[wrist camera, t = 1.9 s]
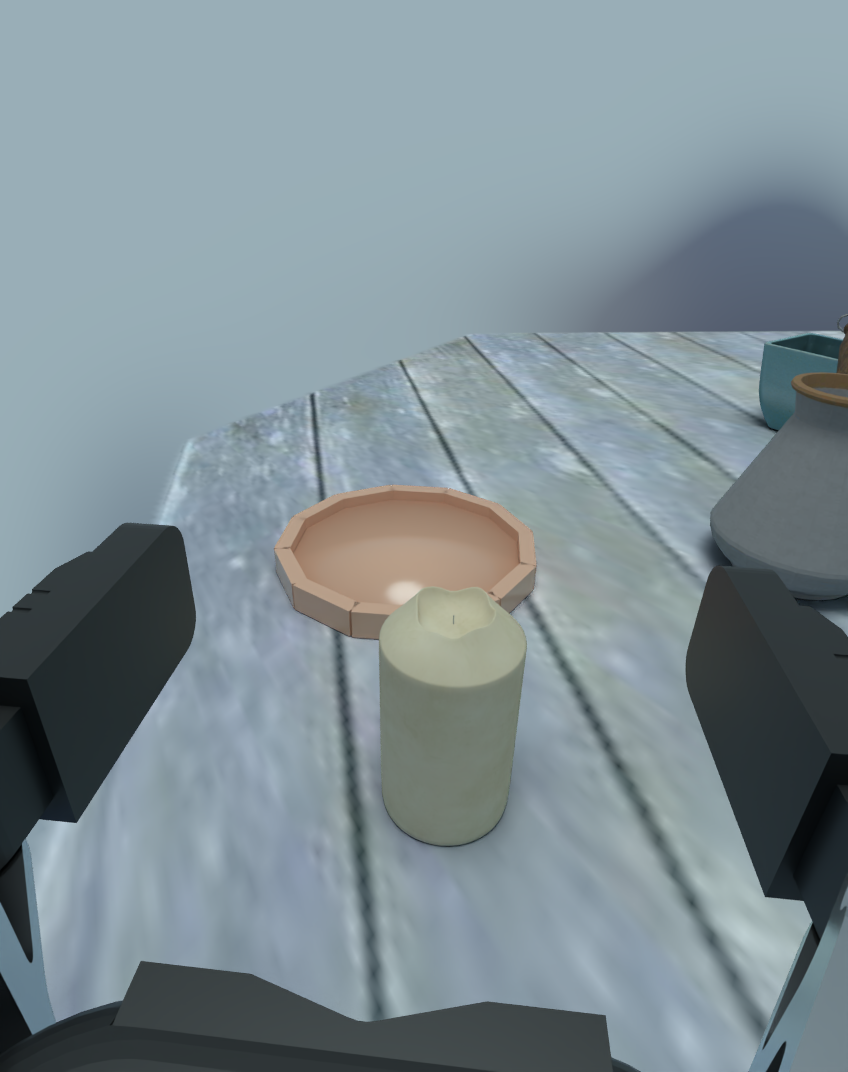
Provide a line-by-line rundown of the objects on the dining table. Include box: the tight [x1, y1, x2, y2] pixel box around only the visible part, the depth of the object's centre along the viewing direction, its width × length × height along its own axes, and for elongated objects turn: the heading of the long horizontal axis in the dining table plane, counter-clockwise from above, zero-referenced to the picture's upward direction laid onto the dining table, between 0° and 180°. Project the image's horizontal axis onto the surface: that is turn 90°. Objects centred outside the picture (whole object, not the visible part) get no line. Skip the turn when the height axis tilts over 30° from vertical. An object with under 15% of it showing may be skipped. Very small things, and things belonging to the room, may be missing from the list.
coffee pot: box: [710, 314, 848, 600], centre depth 46 cm, size 21×12×15 cm, turn 151°
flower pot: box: [759, 333, 843, 430], centre depth 68 cm, size 9×9×9 cm
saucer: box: [274, 485, 536, 639], centre depth 45 cm, size 17×17×2 cm
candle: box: [379, 586, 527, 846], centre depth 26 cm, size 6×6×10 cm
